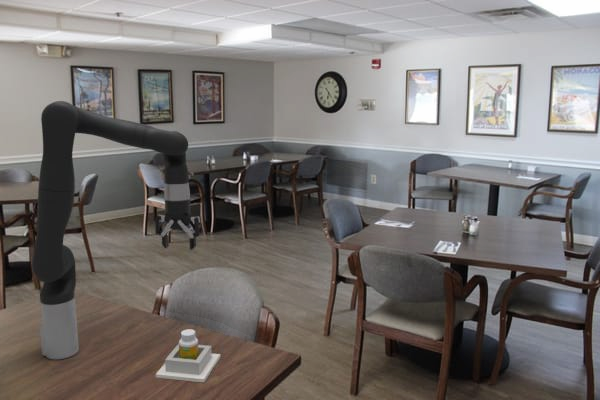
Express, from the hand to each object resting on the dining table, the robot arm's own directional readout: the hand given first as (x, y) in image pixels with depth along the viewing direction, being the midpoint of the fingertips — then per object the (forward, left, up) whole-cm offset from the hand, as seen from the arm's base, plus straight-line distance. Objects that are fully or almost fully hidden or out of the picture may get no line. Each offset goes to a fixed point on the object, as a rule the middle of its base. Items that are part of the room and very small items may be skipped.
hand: (179, 248), depth 158 cm
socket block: (+9, -17, -30) cm, 36 cm away
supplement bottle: (+9, -17, -29) cm, 35 cm away
